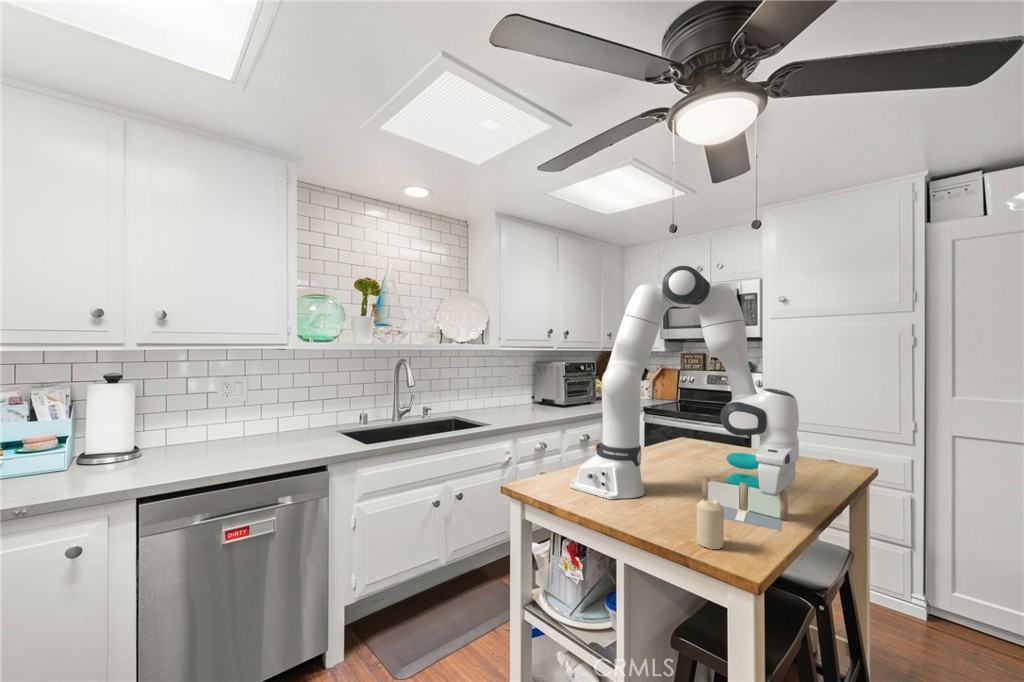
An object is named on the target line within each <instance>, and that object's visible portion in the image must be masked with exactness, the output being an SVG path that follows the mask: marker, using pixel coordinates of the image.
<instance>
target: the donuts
mask: <svg viewBox="0 0 1024 682" xmlns="http://www.w3.org/2000/svg"><path fill="white" fill-rule="evenodd" d="M726 461H727V463H728V464H729V465H731V466H732V467H734V468H737V469H742V470H748V471H749V470H758V465H759V462H757V461H756V454H752V453H745V452H731V453H729V454H727V456H726ZM741 482H742V483H747V492H748V488H749V487H753V488H757V489H760V487H759V477H757V476H754V475H752V474H748V473H732V474H730V475H728V476H727V478H726V484H731V485H737V486H740V483H741Z"/></svg>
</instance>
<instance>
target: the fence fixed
mask: <svg viewBox="0 0 1024 682" xmlns="http://www.w3.org/2000/svg"><path fill="white" fill-rule="evenodd" d="M701 486H702V488H701V489H702V490H701V492H702V494H701V495H702V496H701V500H702V499H703V498H705V499H708V498H711V499H716V500H717V501H718V502H719V503H720V504H721V505H722V506H725V507H730V508H735V509H739V508H740V509H741V510H747V502H748V491H747V483H742V482H741V483H740V486H737V485H731V484H727V483H724V482H719V481H713V480H710V477H709V476H706V475H705V476H702V485H701Z"/></svg>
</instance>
